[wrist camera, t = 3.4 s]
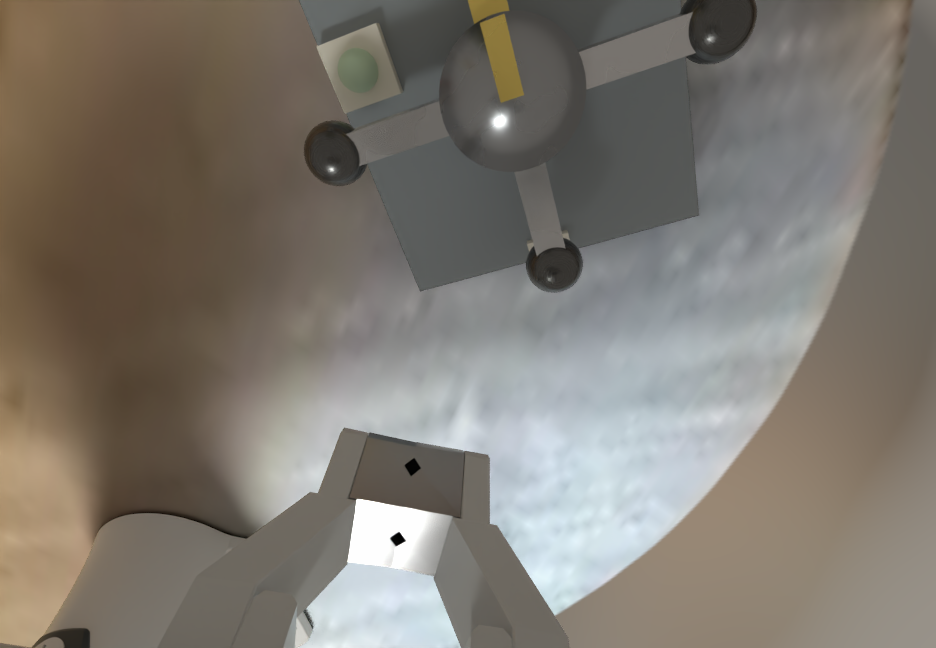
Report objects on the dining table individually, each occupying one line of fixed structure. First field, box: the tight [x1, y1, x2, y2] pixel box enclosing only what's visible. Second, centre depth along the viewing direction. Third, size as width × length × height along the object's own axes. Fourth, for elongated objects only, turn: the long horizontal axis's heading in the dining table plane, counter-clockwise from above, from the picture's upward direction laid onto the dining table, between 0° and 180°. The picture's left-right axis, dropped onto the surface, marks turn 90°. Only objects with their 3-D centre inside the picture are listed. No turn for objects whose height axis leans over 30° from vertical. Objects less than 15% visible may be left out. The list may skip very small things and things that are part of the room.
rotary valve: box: [299, 0, 699, 291], centre depth 21 cm, size 16×14×5 cm
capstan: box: [304, 0, 757, 293], centre depth 18 cm, size 16×16×4 cm
